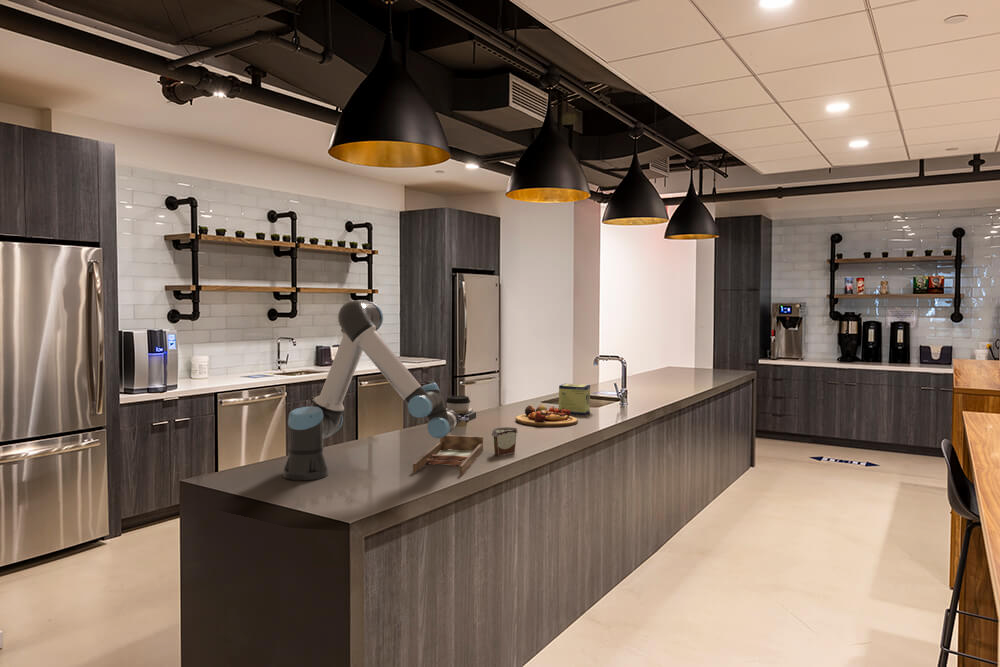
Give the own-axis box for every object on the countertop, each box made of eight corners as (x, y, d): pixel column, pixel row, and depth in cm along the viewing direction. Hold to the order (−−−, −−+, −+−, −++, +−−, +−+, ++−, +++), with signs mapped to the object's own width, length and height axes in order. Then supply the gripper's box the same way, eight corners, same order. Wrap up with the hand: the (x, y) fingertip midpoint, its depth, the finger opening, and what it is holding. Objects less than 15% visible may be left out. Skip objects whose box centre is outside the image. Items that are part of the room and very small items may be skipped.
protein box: (585, 415, 370) (586, 386, 370) (558, 413, 376) (558, 385, 375) (590, 412, 380) (590, 384, 379) (563, 410, 386) (563, 383, 385)
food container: (506, 449, 284) (507, 425, 283) (517, 452, 279) (517, 428, 279) (485, 454, 275) (485, 429, 275) (495, 456, 271) (496, 431, 270)
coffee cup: (475, 434, 273) (475, 397, 272) (457, 437, 266) (457, 399, 265) (458, 430, 280) (458, 394, 279) (440, 434, 273) (440, 396, 272)
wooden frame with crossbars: (413, 473, 244) (413, 456, 244) (440, 449, 283) (440, 434, 283) (462, 475, 241) (462, 459, 241) (483, 451, 280) (483, 436, 280)
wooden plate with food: (557, 430, 328) (558, 413, 328) (503, 422, 346) (503, 406, 346) (588, 422, 354) (589, 406, 354) (536, 415, 372) (537, 400, 372)
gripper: (419, 429, 257) (434, 419, 279) (475, 432, 253) (486, 421, 276) (419, 410, 256) (434, 401, 279) (475, 412, 253) (486, 402, 275)
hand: (460, 411), depth 277 cm, fingers closed on coffee cup, 9 cm apart
